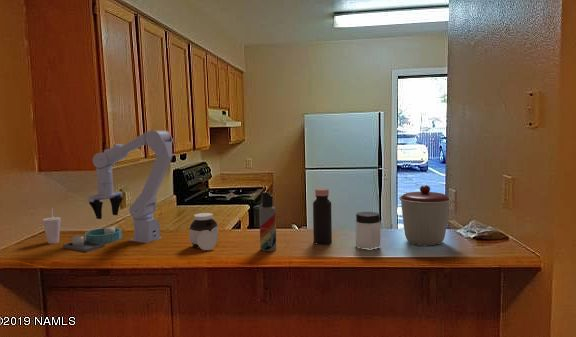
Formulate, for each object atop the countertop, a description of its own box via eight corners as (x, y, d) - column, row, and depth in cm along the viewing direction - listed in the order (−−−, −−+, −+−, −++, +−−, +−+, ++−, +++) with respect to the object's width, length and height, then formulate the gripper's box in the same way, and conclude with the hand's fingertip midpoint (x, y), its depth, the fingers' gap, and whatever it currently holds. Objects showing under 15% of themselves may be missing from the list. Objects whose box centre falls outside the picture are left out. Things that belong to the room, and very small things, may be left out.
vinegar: (322, 246, 153) (322, 191, 151) (309, 242, 158) (308, 189, 156) (335, 242, 158) (335, 189, 156) (322, 239, 163) (321, 187, 161)
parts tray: (104, 247, 158) (104, 243, 157) (87, 253, 151) (86, 248, 151) (80, 243, 164) (80, 240, 164) (63, 248, 157) (62, 244, 157)
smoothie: (54, 245, 162) (51, 209, 161) (40, 245, 163) (37, 209, 162) (66, 241, 168) (63, 206, 167) (52, 240, 170) (49, 206, 168)
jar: (382, 250, 147) (382, 216, 146) (359, 251, 146) (358, 216, 145) (376, 243, 156) (376, 211, 154) (354, 244, 155) (353, 211, 154)
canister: (388, 240, 159) (388, 184, 157) (423, 233, 168) (423, 180, 166) (426, 252, 143) (426, 190, 141) (462, 244, 152) (463, 185, 150)
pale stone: (117, 235, 172) (117, 227, 172) (109, 238, 168) (108, 229, 168) (111, 234, 174) (110, 226, 174) (102, 236, 170) (101, 228, 170)
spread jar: (207, 241, 164) (206, 211, 163) (228, 245, 158) (227, 214, 156) (183, 248, 154) (181, 217, 153) (204, 253, 148) (203, 220, 147)
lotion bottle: (264, 252, 147) (262, 195, 145) (257, 248, 152) (256, 193, 150) (279, 250, 149) (277, 194, 147) (272, 246, 154) (270, 192, 152)
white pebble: (86, 245, 160) (86, 236, 159) (77, 248, 156) (76, 238, 156) (79, 244, 162) (79, 235, 161) (70, 247, 158) (69, 237, 158)
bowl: (128, 237, 171) (128, 229, 171) (101, 246, 160) (100, 236, 160) (106, 234, 177) (106, 226, 177) (78, 242, 166) (77, 233, 166)
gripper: (113, 180, 177) (115, 212, 178) (82, 185, 164) (84, 219, 165) (125, 181, 173) (127, 214, 175) (94, 185, 161) (96, 221, 162)
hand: (107, 216), depth 170 cm, fingers open, 7 cm apart
